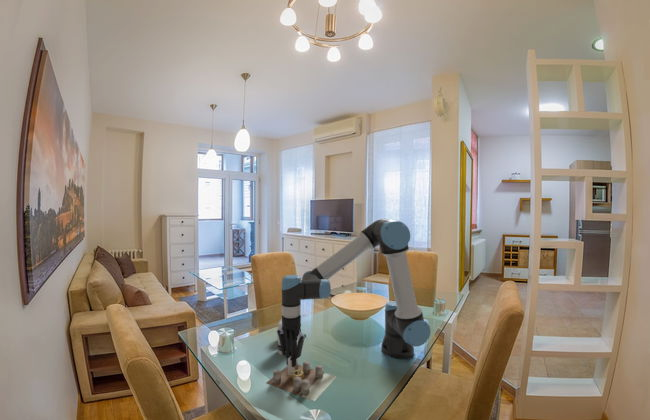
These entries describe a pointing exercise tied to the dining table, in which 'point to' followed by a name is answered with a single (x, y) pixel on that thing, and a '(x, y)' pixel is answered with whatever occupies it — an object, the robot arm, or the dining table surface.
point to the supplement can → (279, 339)
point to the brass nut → (297, 374)
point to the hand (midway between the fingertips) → (291, 373)
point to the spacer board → (289, 382)
